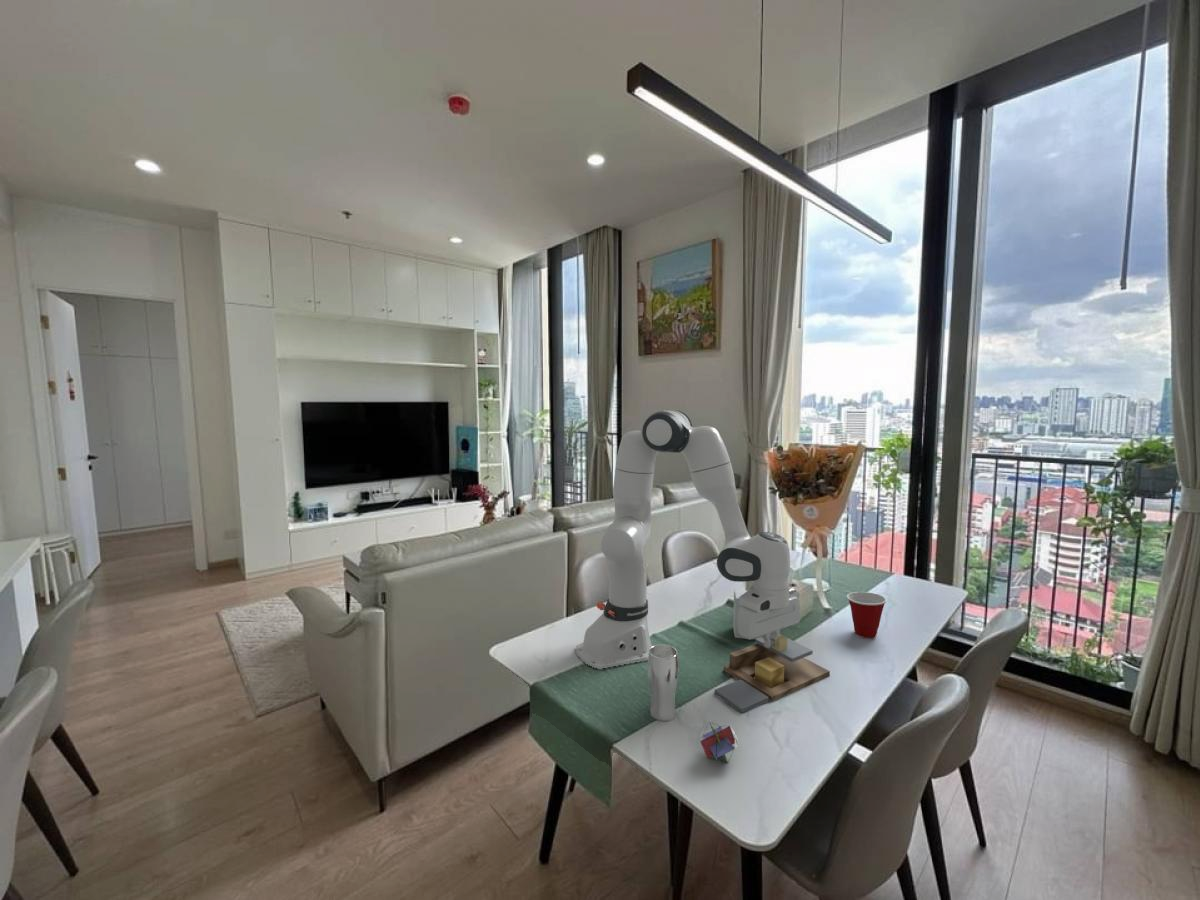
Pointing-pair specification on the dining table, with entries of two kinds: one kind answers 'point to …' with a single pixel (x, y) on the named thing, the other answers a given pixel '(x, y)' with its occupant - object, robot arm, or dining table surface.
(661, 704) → the beer glass
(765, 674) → the ochre block
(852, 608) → the plastic cup
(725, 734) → the geometric puzzle
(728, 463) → the robot arm
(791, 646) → the sliding cover
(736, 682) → the slate coaster
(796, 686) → the puzzle board
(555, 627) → the dining table surface
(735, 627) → the supplement box
